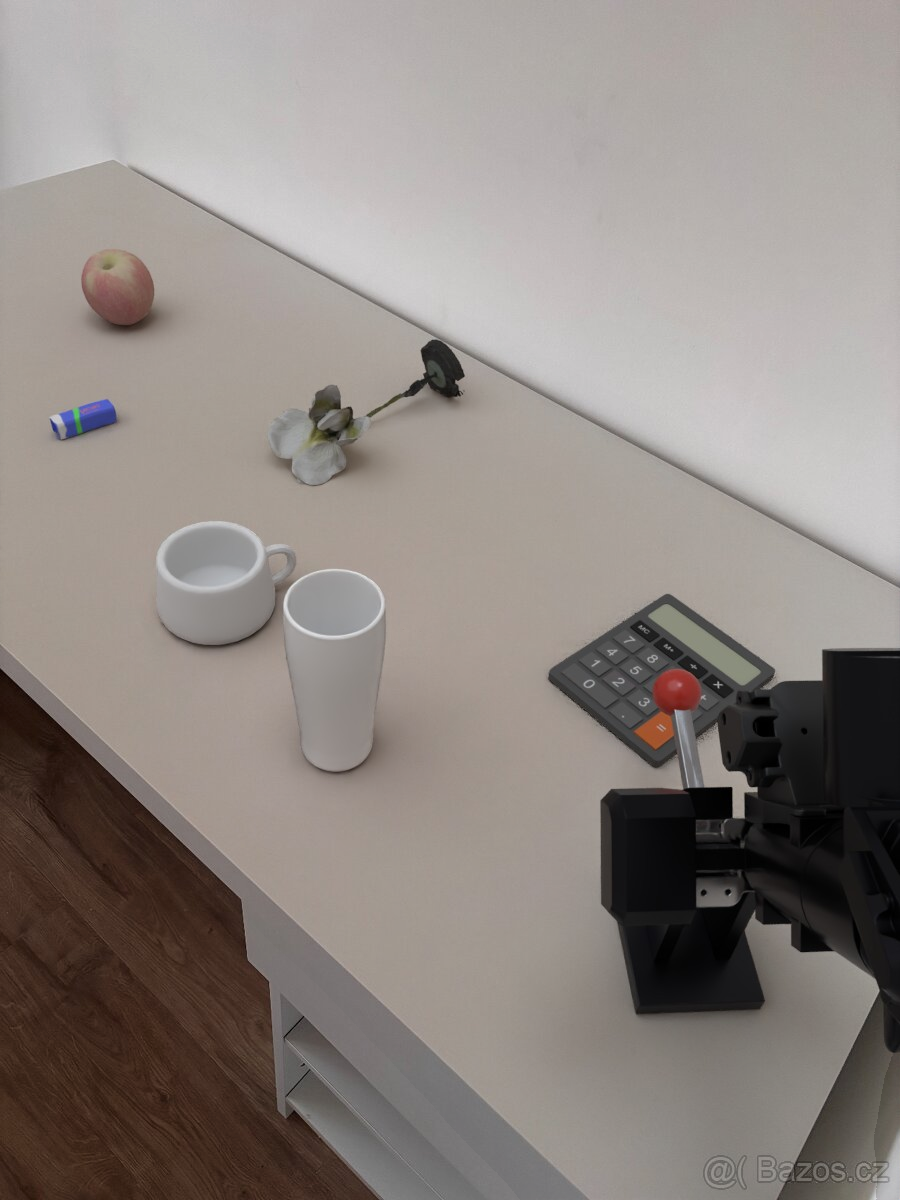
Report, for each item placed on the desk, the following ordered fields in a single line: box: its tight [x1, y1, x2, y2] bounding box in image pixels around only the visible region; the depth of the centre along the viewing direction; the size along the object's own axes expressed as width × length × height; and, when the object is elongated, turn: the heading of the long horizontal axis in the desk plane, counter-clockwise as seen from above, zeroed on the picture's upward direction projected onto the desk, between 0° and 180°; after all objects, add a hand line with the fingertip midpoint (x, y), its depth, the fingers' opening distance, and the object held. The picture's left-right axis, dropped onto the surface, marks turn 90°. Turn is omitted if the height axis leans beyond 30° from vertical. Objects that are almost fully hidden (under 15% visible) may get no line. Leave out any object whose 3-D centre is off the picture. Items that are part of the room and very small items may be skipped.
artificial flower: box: [267, 338, 466, 487], centre depth 106 cm, size 9×22×10 cm, turn 131°
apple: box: [80, 248, 155, 326], centre depth 118 cm, size 8×8×8 cm
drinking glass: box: [282, 568, 387, 772], centre depth 74 cm, size 7×7×15 cm
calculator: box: [547, 593, 776, 768], centre depth 86 cm, size 12×1×15 cm
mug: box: [155, 520, 297, 646], centre depth 87 cm, size 12×10×6 cm
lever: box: [652, 669, 705, 790], centre depth 67 cm, size 15×3×3 cm, turn 4°
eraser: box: [49, 398, 117, 440], centre depth 105 cm, size 2×6×2 cm, turn 126°
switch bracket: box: [616, 834, 766, 1015], centre depth 66 cm, size 10×8×10 cm
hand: (731, 819), depth 60 cm, fingers open, 4 cm apart
